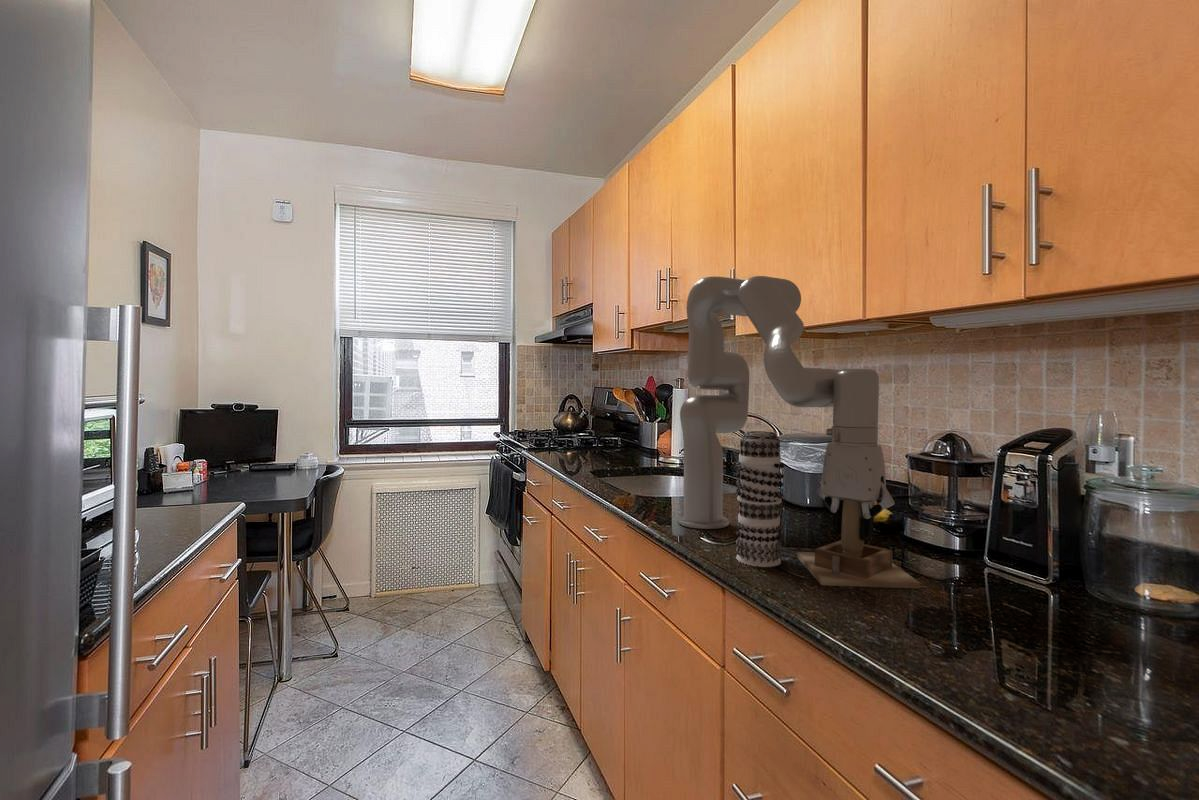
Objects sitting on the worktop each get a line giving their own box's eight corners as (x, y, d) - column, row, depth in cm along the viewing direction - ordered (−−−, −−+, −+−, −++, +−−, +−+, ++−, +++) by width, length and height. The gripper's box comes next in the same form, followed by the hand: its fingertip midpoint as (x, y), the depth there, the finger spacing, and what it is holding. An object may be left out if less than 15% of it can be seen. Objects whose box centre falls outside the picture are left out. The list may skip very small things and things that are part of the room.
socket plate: (796, 557, 112) (797, 537, 111) (880, 559, 110) (881, 539, 110) (821, 585, 96) (821, 561, 96) (919, 588, 94) (920, 564, 94)
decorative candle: (765, 551, 115) (767, 429, 115) (793, 565, 106) (795, 433, 106) (725, 555, 113) (727, 430, 112) (750, 569, 104) (751, 434, 103)
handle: (869, 565, 99) (871, 480, 99) (831, 559, 103) (832, 477, 102) (873, 558, 103) (874, 477, 103) (835, 552, 107) (837, 473, 106)
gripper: (801, 434, 106) (799, 530, 107) (893, 441, 94) (891, 550, 94) (821, 432, 111) (820, 524, 112) (912, 439, 98) (909, 542, 99)
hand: (852, 535), depth 103 cm, fingers closed on handle, 4 cm apart
